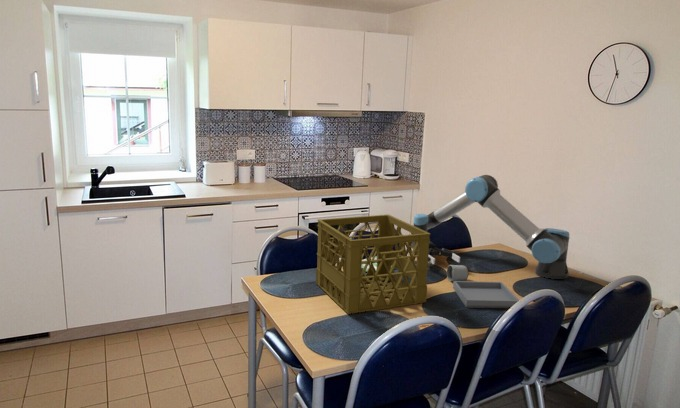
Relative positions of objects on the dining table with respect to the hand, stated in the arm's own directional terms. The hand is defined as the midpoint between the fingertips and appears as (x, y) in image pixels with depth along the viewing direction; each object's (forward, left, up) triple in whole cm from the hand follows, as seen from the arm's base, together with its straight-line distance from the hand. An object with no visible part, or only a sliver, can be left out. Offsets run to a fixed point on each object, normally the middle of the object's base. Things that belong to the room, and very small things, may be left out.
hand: (447, 260), depth 247 cm
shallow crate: (-10, +30, -6) cm, 33 cm away
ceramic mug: (-2, +9, -7) cm, 11 cm away
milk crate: (+40, +28, -7) cm, 49 cm away
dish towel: (+32, -10, -7) cm, 35 cm away
